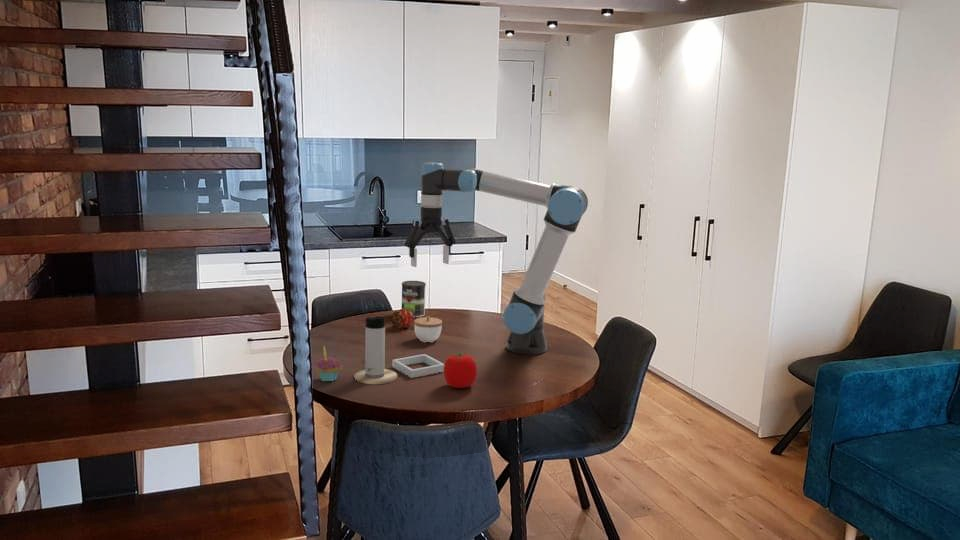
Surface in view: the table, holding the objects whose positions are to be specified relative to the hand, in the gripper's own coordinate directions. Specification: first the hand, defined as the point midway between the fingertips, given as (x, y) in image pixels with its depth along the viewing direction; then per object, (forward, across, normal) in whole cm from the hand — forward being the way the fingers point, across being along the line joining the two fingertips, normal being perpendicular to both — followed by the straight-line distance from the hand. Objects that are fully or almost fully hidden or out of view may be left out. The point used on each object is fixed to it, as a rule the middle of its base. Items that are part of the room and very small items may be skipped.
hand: (429, 264), depth 267 cm
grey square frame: (+32, +15, +18) cm, 39 cm away
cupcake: (+32, +45, +12) cm, 57 cm away
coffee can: (+32, -20, -45) cm, 58 cm away
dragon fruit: (+32, -6, -29) cm, 44 cm away
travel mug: (+31, +31, +18) cm, 48 cm away
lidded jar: (+32, -6, -9) cm, 34 cm away
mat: (+32, +31, +18) cm, 48 cm away
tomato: (+32, +12, +39) cm, 51 cm away
